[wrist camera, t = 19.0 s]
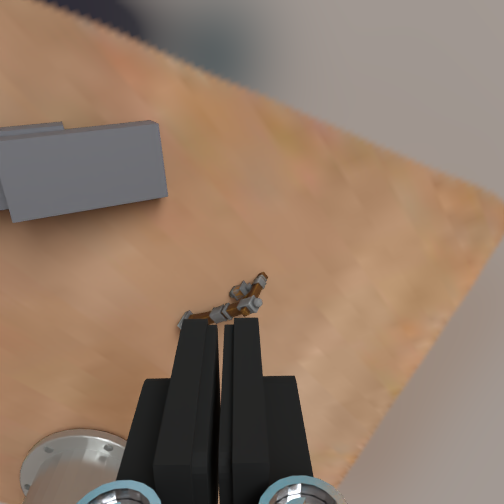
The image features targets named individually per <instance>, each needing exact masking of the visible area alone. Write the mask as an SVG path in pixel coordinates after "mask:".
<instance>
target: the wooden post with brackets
mask: <svg viewBox="0 0 504 504" xmlns="http://www.w3.org/2000/svg"><path fill="white" fill-rule="evenodd" d="M267 279H268V277H267V275H266V274H265V273H264V272H262V273H260V274H259V275H258V277H257V278H256V279H255V280H254V282H253V284H252V285H251V284H250V283H249V284H246V283H245V281H243V282H242V284H241V285H237V286H234V287H233V289H232V290H231V291H230V297H232V298H235V299H236V300H238V299H239V298H241V297H243V296H245V297H243V298H242V299H241V300H240V301H239V302H238V303H234V304H230V303H226V304H225V305H224V304H223V305H221V306H219V307H216V308H213V309H212V311H209V312H205V313H200V314H192V312H191V311H190V310H189V311H187V312H185V314H184V316H183V317H182V319H181V320H180V322H179V324H178V325H177V326H178V327H179V328H180V329H181V326H182V322H183V319H208V325H209V324H212V323H214V322H215V323H216V324H217V323H219V322H223V321H227V319H228V320H232V318H233V317H234V316H237V315H241V314H242V315H243V316H247V315H249V314H251V313H257V311H258V309H259V307H260V306H261V305H262V300H261V299H260V298H258V296H259V294H260V292H261V290H262V289H264V287H265V285H266V281H267Z"/></svg>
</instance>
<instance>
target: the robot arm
mask: <svg viewBox="0 0 504 504" xmlns="http://www.w3.org/2000/svg"><path fill="white" fill-rule="evenodd" d="M20 484H21V488H22V490H23V492H24V494H25V499H24V501H23V503H22V504H218V490H219V496H220V504H347V502H346V500H345V499H344V497H343V495H342V494H340V493H339V492H338V491H337V490H336V489H335V488H334V487H333V486H332V485H330V484H328V483H326V482H324V481H323V480H321V479H318V478H314V477H313V472H312V466H311V461H310V455H309V450H308V444H307V439H306V433H305V428H304V422H303V416H302V411H301V405H300V400H299V394H298V389H297V383H296V379H295V376H263V374H262V361H261V348H260V336H259V323H258V318H234V324H233V325H225V328H224V349H223V370H222V391H221V405H220V379H219V353H218V328H217V325H208V319H183V322H182V326H181V331H180V336H179V341H178V346H177V350H176V355H175V360H174V365H173V370H172V375H171V378H164V379H146V380H145V381H144V384H143V387H142V390H141V394H140V397H139V401H138V404H137V408H136V411H135V415H134V418H133V422H132V425H131V429H130V432H129V436H128V439H127V441H126V440H124V439H122V438H120V437H118V436H116V435H113V434H110V433H107V432H103V431H98V430H93V429H72V430H65V431H61V432H57V433H54V434H52V435H50V436H47V437H45V438H43V439H42V440H41V441H39V442H38V443H36V444H35V445H34V447H33V448H32V449H31V450H30V451H29V453H28V455H27V456H26V458H25V460H24V462H23V464H22V467H21V470H20Z"/></svg>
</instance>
